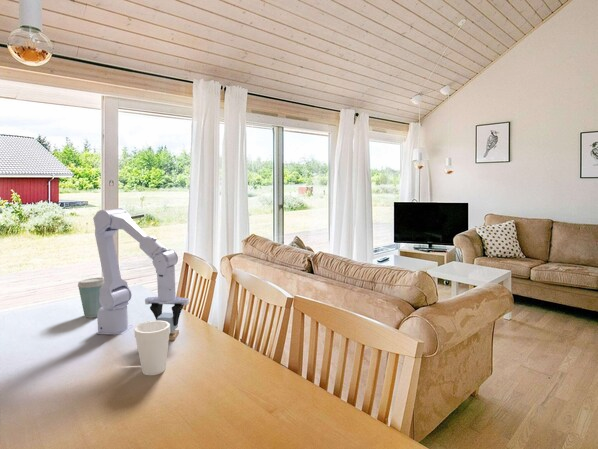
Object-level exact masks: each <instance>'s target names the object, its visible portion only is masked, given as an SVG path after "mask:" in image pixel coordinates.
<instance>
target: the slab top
mask: <svg viewBox="0 0 598 449" xmlns="http://www.w3.org/2000/svg"><path fill="white" fill-rule="evenodd" d="M179 333H180V331H179V329H175V330H174V331H173V332H170V334H169V341H176V339H177V337H178V336H179Z"/></svg>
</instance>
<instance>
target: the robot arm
mask: <svg viewBox="0 0 598 449" xmlns="http://www.w3.org/2000/svg"><path fill="white" fill-rule="evenodd" d="M92 220H93V223H94V236H95V243H96V247H97V251H98V255H99V261H100V262H99V263H100V265H101V271H102V275H103V276H102V277H103V278H104V284H103V285H102V286H101V288H100V289H99V291H100V297H99V302H100V304H101V306H102V307H101V308H100V309H99V311H98V315H97V317H96V318H97V332H96V334H97V335H124V334H125V333H126V332H127V331H129V330H130V329H132V328H133V327H134V325H133V324H132V325H131V324H129V317H128V316H129V315H128V305H129V302H130V301H131V299H132V291H131V289H130V286H129V284H128V282H127V281H126V280H124V279H123V278H122V274H121V269H120V266H119V261H118V255H117V251H116V245H115V241H114V235H115V234H116V232H117V231H118V230H123V231H124V232H125V233H127V234H128V235H129V236H130V237H132V238H133V239H134V240H136V241H137V243H138V244H139V245H138V246H139V249H140V250H141V251H142V252H144V254H146V256H148V257H149V258H150V259H151V261H152V264H153V267H154V268H155V273H156V276H157V277H156V279H157V282H156V283H157V296H152V297H151V296H150V297H149V296H148V297H146V298H145V299H144V302H145V305H150V306H149V309H150V310H151V312H152V313H153V316H154V317H155V321H157V317H158V316H160V315H161V314H162V313H163V306H164V305H173V306H171V310H172V312H171V313H173V324H174V326H176V325H177V324H179V320H180V316H181V312H182V310H183V307H184V306H188V305H189V304H190V301H189V300H190V299H189V298H187V297H181V296H176V295H177V294H176V269H175V265H177V263H178V261H179V256H178V254H177V252H176V251H175V250H173V249H171V248H169V249H168V248H167V247H166V246H165V245H163V244H162V242H160V241H159V240H158V238H157V237H156V236H153V235H147V234H146V233H145V232H144V230H142V228H141V227H139V225H138V224H137V223H136V222H135V221H134V220H133V219H132V218H131V214H130V213H129V212H128V211H127V210H126V209H125V208H122V207H120V208H114V209H113V208H112V209H100V210H98V211H96V214H95V215H94V216H93V219H92Z"/></svg>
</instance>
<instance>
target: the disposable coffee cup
mask: <svg viewBox="0 0 598 449" xmlns="http://www.w3.org/2000/svg"><path fill="white" fill-rule="evenodd" d="M103 284H104V277H103V276H102V277H101V276H100V277H91V278H85V279H81V280H79V281H78V284H77V287H78V290H79V295H80V301H81V306H82V311H83V315H84V317H85V318H88V319H89V318H90V319H91V318H97V315H98V311H99V309H100V308H101V307H102V306H101V304H100V302H99V297H100V291H99V289H100V288H101V286H102V285H103Z"/></svg>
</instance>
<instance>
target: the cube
mask: <svg viewBox="0 0 598 449" xmlns="http://www.w3.org/2000/svg"><path fill="white" fill-rule="evenodd" d="M157 321H166V322H168V323H170V332H173V331H174V330H177V328H178V327H179V326H178V324H179V323H178V324H177V325H176V326H174V324H173V312H162V314H161V315H160V316H158V317H157Z"/></svg>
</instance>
